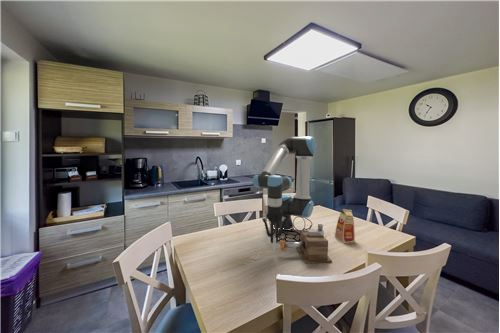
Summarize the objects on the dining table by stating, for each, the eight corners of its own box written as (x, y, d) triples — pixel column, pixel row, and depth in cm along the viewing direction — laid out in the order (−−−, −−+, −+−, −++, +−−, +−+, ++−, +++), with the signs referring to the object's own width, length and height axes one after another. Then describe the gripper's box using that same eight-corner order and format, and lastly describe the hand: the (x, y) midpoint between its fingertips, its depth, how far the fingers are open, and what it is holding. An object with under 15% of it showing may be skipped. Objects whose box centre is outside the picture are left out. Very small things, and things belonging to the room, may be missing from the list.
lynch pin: (280, 247, 118) (280, 238, 118) (307, 246, 119) (308, 237, 119) (282, 252, 113) (282, 242, 112) (311, 251, 114) (311, 242, 113)
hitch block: (296, 248, 125) (296, 229, 123) (319, 247, 125) (320, 229, 124) (304, 263, 109) (305, 242, 108) (332, 262, 110) (333, 241, 108)
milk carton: (343, 243, 131) (345, 211, 129) (333, 237, 140) (335, 206, 138) (356, 241, 133) (358, 210, 131) (345, 235, 142) (347, 205, 140)
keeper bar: (307, 233, 117) (307, 224, 117) (321, 233, 118) (322, 223, 117) (309, 236, 114) (309, 226, 114) (323, 235, 115) (324, 225, 114)
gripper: (263, 207, 109) (262, 252, 111) (288, 207, 110) (287, 251, 112) (261, 203, 116) (261, 245, 119) (285, 203, 117) (284, 244, 119)
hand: (274, 248), depth 115 cm, fingers closed
